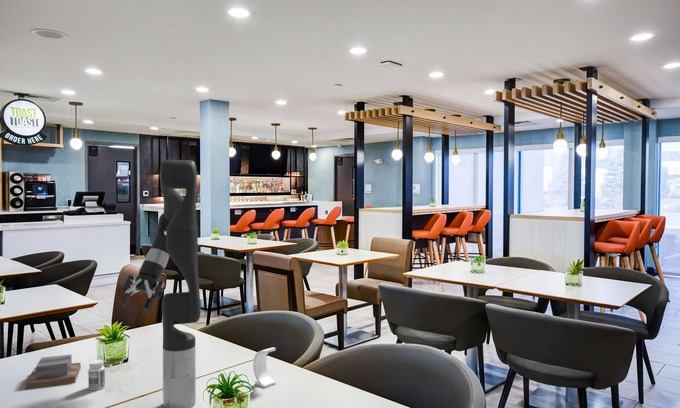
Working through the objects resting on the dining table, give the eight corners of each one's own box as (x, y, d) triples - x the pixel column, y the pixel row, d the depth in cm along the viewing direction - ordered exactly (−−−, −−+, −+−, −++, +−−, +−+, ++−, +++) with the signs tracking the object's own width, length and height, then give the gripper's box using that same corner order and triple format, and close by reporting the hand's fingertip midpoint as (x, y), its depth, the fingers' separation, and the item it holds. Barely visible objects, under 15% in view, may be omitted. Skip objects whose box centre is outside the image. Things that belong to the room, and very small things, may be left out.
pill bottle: (100, 383, 158) (100, 358, 158) (107, 387, 155) (107, 361, 155) (85, 388, 155) (85, 362, 154) (92, 391, 152) (92, 365, 151)
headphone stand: (264, 388, 155) (264, 351, 155) (253, 382, 160) (253, 347, 159) (275, 384, 159) (275, 347, 158) (264, 379, 163) (264, 343, 163)
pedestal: (75, 382, 159) (75, 364, 159) (25, 388, 154) (25, 370, 154) (80, 368, 172) (80, 351, 172) (34, 373, 167) (34, 356, 167)
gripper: (132, 256, 170) (110, 300, 162) (166, 262, 166) (146, 307, 158) (143, 265, 176) (123, 307, 168) (176, 271, 172) (157, 314, 164)
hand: (134, 307), depth 163 cm, fingers open, 8 cm apart
